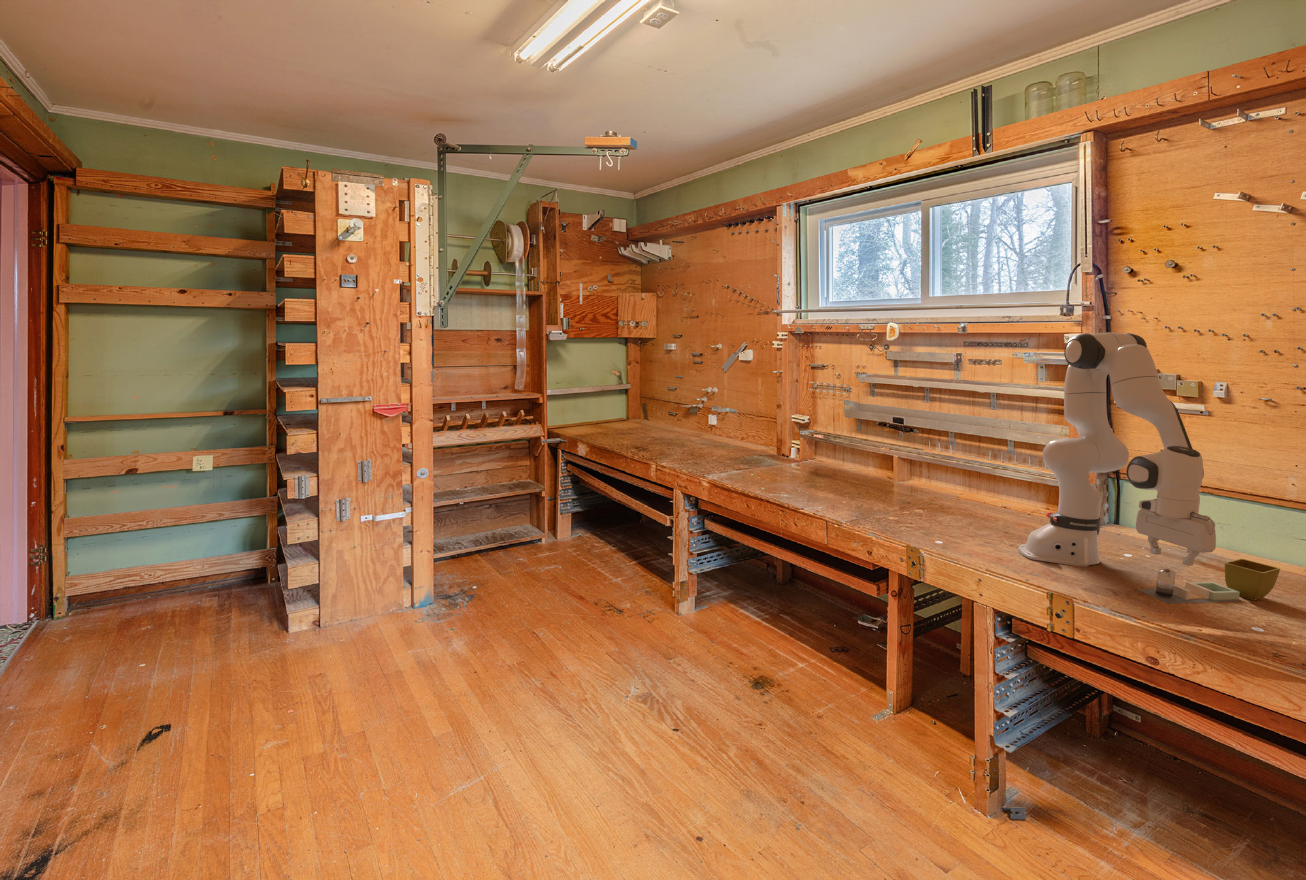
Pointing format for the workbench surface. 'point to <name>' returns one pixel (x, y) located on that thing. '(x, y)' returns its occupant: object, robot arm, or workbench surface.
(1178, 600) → the board
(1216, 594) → the pale green flat frame
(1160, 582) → the cell
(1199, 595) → the cradle
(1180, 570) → the workbench surface
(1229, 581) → the flower pot
